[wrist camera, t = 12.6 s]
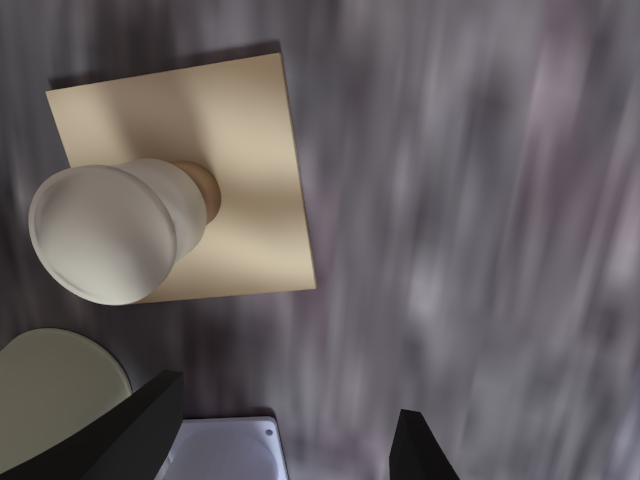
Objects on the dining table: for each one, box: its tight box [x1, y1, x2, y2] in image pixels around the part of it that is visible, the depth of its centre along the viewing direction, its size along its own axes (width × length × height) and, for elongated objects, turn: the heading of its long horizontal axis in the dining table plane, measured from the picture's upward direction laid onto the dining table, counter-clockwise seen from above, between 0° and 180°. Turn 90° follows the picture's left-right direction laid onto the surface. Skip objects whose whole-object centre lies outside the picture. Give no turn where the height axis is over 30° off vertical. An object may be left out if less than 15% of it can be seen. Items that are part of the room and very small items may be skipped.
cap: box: [28, 158, 207, 305], centre depth 15 cm, size 5×5×4 cm
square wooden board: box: [45, 53, 317, 305], centre depth 19 cm, size 12×12×4 cm
